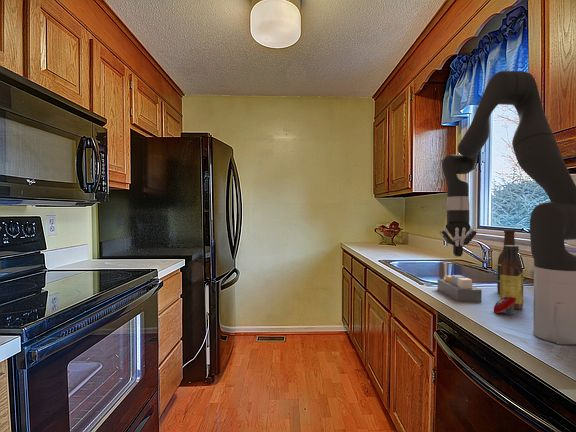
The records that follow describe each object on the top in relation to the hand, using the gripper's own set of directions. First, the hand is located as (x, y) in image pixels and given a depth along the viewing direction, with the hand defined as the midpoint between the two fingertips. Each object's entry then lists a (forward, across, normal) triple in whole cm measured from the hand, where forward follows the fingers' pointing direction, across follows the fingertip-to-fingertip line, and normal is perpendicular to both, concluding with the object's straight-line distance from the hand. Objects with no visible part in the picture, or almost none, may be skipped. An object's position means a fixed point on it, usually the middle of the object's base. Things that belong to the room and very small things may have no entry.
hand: (458, 256), depth 124 cm
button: (+15, +4, -22) cm, 27 cm away
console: (+14, 0, 0) cm, 14 cm away
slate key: (+11, 0, 0) cm, 11 cm away
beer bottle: (+14, +20, +3) cm, 25 cm away
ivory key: (+11, 0, -5) cm, 12 cm away
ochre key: (+12, 0, +5) cm, 13 cm away
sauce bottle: (+15, +10, -15) cm, 23 cm away
